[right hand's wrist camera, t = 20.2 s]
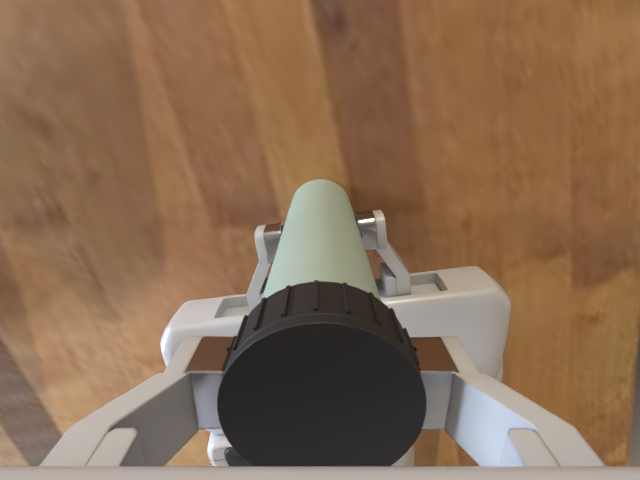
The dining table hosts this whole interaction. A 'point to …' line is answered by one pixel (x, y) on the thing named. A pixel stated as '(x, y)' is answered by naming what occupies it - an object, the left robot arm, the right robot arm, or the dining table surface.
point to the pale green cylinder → (321, 242)
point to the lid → (321, 381)
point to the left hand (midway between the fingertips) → (318, 220)
